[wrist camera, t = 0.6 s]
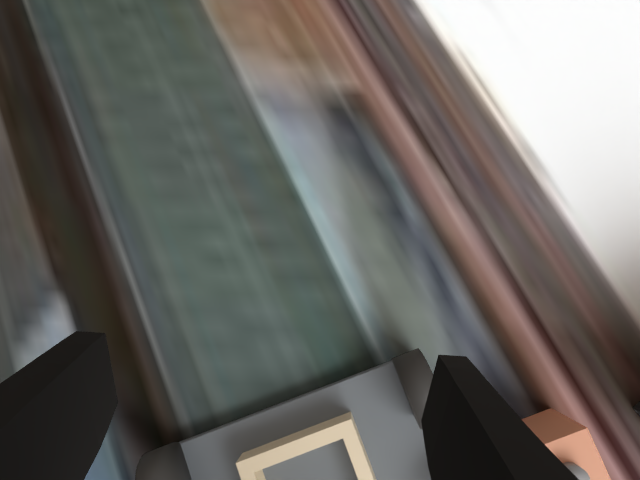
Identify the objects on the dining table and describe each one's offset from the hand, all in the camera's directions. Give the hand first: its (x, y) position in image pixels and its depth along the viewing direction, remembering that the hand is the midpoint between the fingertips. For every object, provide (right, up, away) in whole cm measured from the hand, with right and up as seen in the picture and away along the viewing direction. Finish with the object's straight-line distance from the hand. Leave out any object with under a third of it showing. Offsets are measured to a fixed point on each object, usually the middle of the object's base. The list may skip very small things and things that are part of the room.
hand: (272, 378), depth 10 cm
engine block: (+17, -12, +22) cm, 31 cm away
